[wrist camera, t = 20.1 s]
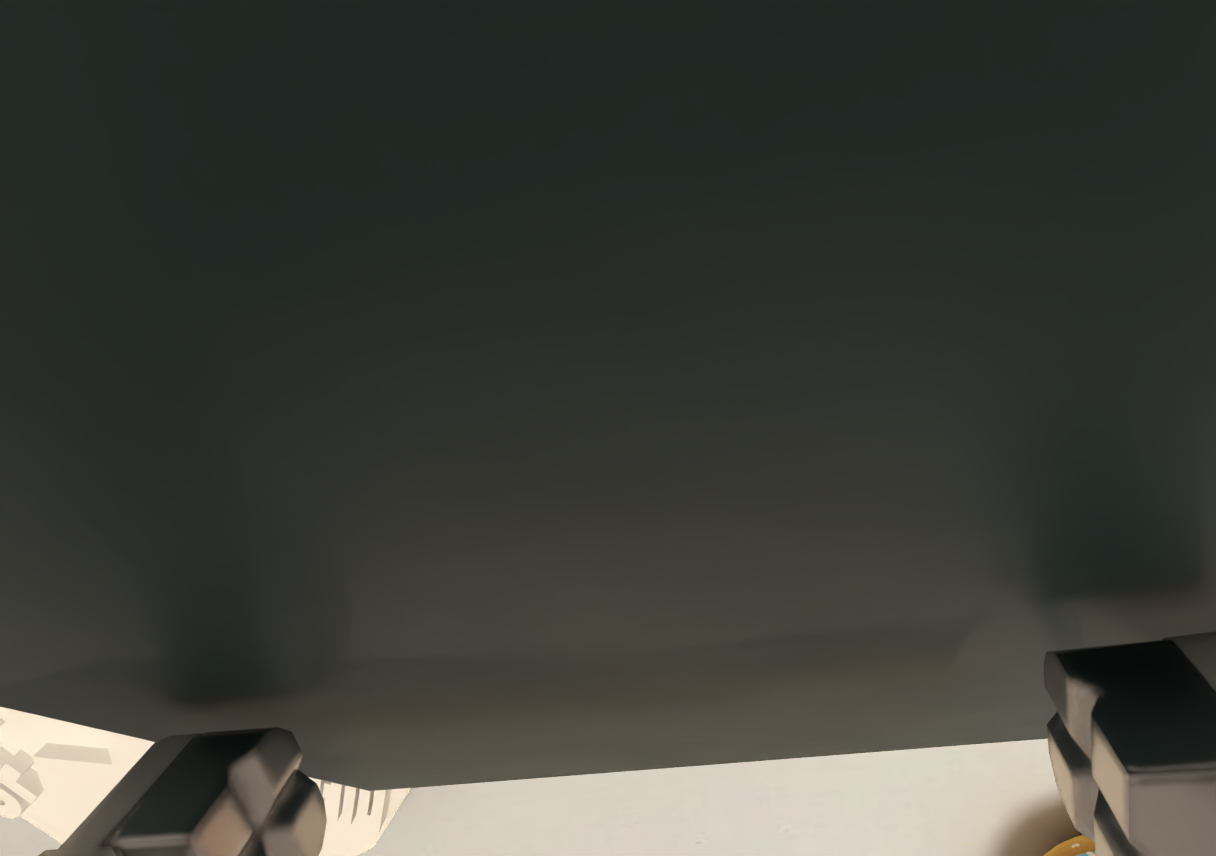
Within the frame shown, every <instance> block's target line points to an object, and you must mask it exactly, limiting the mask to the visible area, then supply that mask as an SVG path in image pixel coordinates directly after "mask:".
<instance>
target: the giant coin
mask: <svg viewBox="0 0 1216 856" xmlns="http://www.w3.org/2000/svg"><path fill="white" fill-rule="evenodd" d="M154 743H155V742H153V741H148V740H144V739H140V738H135V737H131V736H127V735H122V734H118V733H113V732H109V731H105V730H100V729H96V728H92V727H87V726H83V725H78V724H74V723H70V722H65V721H61V720H57V719H52V718H48V717H43V716H39V715H35V714H30V713H26V712H22V711H17V710H13V709H8V708H4V707H0V815H1V816H3V817H6V818H9V819H13V818H17V817H18V816H20V817H21V818H23V819H24V820H26V821H28V822H29V823H31V824H32V825H34V826H35V827H37V828H38V829H40V830H42V831H43V832H45V833H46V834H48V835H49V836H51V837H52V838H54V839H55V840H57V841H59V842H60V843H62V844H63V843H64V842H65V841H66V840H67V839H68V838H69V836H70V835H71V834H72V833H73V832H74V831H75V830H76V829H77V828H78V827H79V825H80V824H81V823H82V822H83V821H84V820H85V819H86V818H87V817H88V816H89V814H90V813H91V812H92V811H93V810H94V809H95V808H96V807H97V806H98V805H99V803H100V802H101V801H102V800H103V799H104V798H105V797H106V796H107V795H108V793H109V792H110V791H111V790H112V789H113V788H114V787H115V786H116V785H117V784H118V782H119V781H120V780H121V779H122V778H123V777H124V776H125V775H126V774H127V773H128V771H129V770H130V769H131V768H132V767H133V766H134V765H135V764H136V763H137V762H138V760H139V759H140V758H141V757H142V756H143V755H144V754H145V753H146V752H147V751H148V749H149V748H150V747H151V746H152V745H153V744H154ZM309 778H310V777H309ZM310 779H311V780H313V781H314V782H315V783H317V785H318V788H319V790H320V792H321V794H322V797H323V799H324V803H325V811H326V818H327V823H326V829H325V834H324V840H323V846H322V849H321V851H320V853H319V855H318V856H359V855H361V854H362V853H364V852H366V851H367V850H369V849H370V848H372V847H374V846H375V845H376V843H377V842H378V840H379V839H380V837H381V835H382V834H383V832H384V831H385V829H386V827H387V826H388V824H389V823H390V821H391V819H392V818H393V816H394V815H395V813H396V811H397V810H398V808H399V807H400V805H401V803H402V802H403V800H404V799H405V797H406V795H407V794H408V792H409V791H410V789H411V788H402V789H390V790H377V791H367V790H363V789H359V788H354V787H350V786H345V785H341V784H337V783H332V782H328V781H324V780H319V779H315V778H310Z"/></svg>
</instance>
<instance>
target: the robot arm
mask: <svg viewBox="0 0 1216 856" xmlns="http://www.w3.org/2000/svg"><path fill="white" fill-rule="evenodd" d="M1044 687H1045V689H1046V691H1047V693H1048V694H1049V696H1050V698H1051V700H1052V702H1053V704H1054V706H1055V708H1056V709H1057V712H1056V713H1055V715H1054V716H1053V717H1052V718H1051V719H1050V721H1049V722H1048V723H1047V735H1048V745H1049V754H1050V759H1051V763H1052V767H1053V772H1054V776H1055V781H1056V784H1057V787H1058V790H1059V792H1060V795H1061V798H1062V800H1063V803H1064V806H1065V808H1066V810H1067V812H1068V814H1069V817H1070V819H1071V821H1072V823H1073V825H1074V827H1075V829H1076V830H1077V831H1079V832H1080V833H1081V834H1083V835H1084V836H1086V837H1087V838H1089V839H1090V840H1092V841H1093V842H1094V843H1095V856H1216V632H1208V633H1200V634H1192V635H1184V636H1176V637H1167V638H1163V639H1162V640H1155V641H1145V642H1136V643H1126V644H1116V645H1107V646H1097V647H1088V648H1078V649H1068V650H1059V651H1049V652H1046V655H1045V660H1044ZM302 756H303V752H302V750H301V749H300V747H299V745H298V743H297V741H296V739H295V737H294V735H293V733H292V731H289V730H285V729H282V728H279V727H273V728H259V729H245V730H231V731H217V732H206V733H204V734H200V733H198V734H185V735H173V736H169V737H167V738H164V739H162V740H160V741H157V742H155V743H154V744H153V745H152V746H151V747H150V748H149V749H148V751H147V752H146V753H145V754H144V755H143V756H142V757H141V758H140V759H139V760H138V762H137V763H136V764H135V765H134V766H133V767H132V768H131V769H130V770H129V771H128V773H127V774H126V775H125V776H124V777H123V778H122V779H121V780H120V781H119V782H118V784H117V785H116V786H115V787H114V788H113V789H112V790H111V791H110V792H109V793H108V795H107V796H106V797H105V798H104V799H103V800H102V801H101V802H100V803H99V805H98V806H97V807H96V808H95V809H94V810H93V811H92V812H91V813H90V814H89V816H88V817H87V818H86V819H85V820H84V821H83V822H82V823H81V824H80V825H79V827H78V828H77V829H76V830H75V831H74V832H73V833H72V834H71V835H70V836H69V838H68V839H67V840H66V841H65V842H64V843H63V844H62V845H61V846H60V848H59V849H57V850H46V851H44V852H43V853H41V854H40V855H38V856H318V855H319V853H320V851H321V849H322V846H323V840H324V834H325V829H326V823H327V818H326V811H325V803H324V799H323V797H322V794H321V792H320V790H319V788H318V785H317V783H315V782H314V781H313V780H311V779H310V778H309V777H308V776H306V775H305V774H304V773H302V772H301V771H300V770H298V769H299V765H300V762H301V759H302Z"/></svg>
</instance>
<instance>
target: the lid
mask: <svg viewBox="0 0 1216 856" xmlns="http://www.w3.org/2000/svg"><path fill="white" fill-rule="evenodd" d="M1208 632H1216V0H0V707H4V708H8V709H13V710H17V711H22V712H26V713H30V714H35V715H39V716H43V717H48V718H52V719H57V720H61V721H65V722H70V723H74V724H78V725H83V726H87V727H92V728H96V729H100V730H105V731H109V732H113V733H118V734H122V735H127V736H131V737H135V738H140V739H144V740H148V741H153V742H157V741H160V740H162V739H164V738H167V737H169V736H173V735H185V734H198V733H200V734H204V733H206V732H217V731H231V730H245V729H259V728H273V727H279V728H282V729H285V730H289V731H292V733H293V735H294V737H295V739H296V741H297V743H298V745H299V747H300V749H301V750H302V752H303V756H302V759H301V762H300V765H299V769H298V770H300V771H301V772H302V773H304V774H305V775H306V776H308V777H310V778H315V779H319V780H324V781H328V782H332V783H337V784H341V785H345V786H350V787H354V788H359V789H363V790H367V791H377V790H390V789H402V788H415V787H428V786H441V785H454V784H467V783H480V782H493V781H505V780H518V779H531V778H544V777H557V776H570V775H583V774H596V773H608V772H621V771H634V770H647V769H660V768H673V767H686V766H698V765H711V764H724V763H737V762H750V761H763V760H776V759H789V758H801V757H814V756H827V755H840V754H853V753H866V752H879V751H892V750H904V749H917V748H930V747H943V746H956V745H969V744H982V743H994V742H1007V741H1020V740H1033V739H1046V738H1048V735H1047V723H1048V722H1049V721H1050V719H1051V718H1052V717H1053V716H1054V715H1055V713H1056V712H1057V709H1056V708H1055V706H1054V704H1053V702H1052V700H1051V698H1050V696H1049V694H1048V693H1047V691H1046V689H1045V687H1044V660H1045V655H1046V652H1049V651H1059V650H1068V649H1078V648H1088V647H1097V646H1107V645H1116V644H1126V643H1136V642H1145V641H1155V640H1162V639H1163V638H1167V637H1176V636H1184V635H1192V634H1200V633H1208Z"/></svg>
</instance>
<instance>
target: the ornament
mask: <svg viewBox="0 0 1216 856" xmlns="http://www.w3.org/2000/svg"><path fill="white" fill-rule="evenodd" d="M1043 856H1095V843H1094V842H1093V841H1092V840H1090V839H1089V838H1087V837H1086V836H1084V835H1081V836H1076V837H1073V838H1071V839H1069V840H1067V841H1064V842H1062V843H1060V844H1058V845H1057V846H1055V847H1054V848H1052V849H1051V850H1050V851H1048V852H1047V853H1046V854H1045V855H1043Z"/></svg>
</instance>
